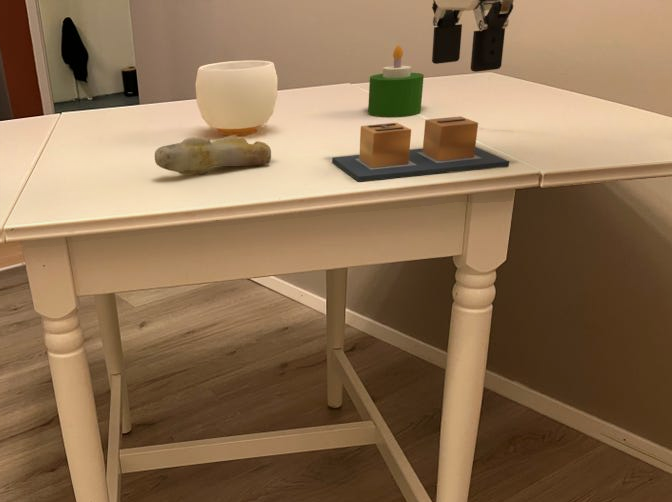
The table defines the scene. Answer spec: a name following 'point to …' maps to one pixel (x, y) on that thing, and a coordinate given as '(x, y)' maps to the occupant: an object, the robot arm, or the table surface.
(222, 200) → the table surface
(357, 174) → the word mat
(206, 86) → the cup
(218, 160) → the figurine
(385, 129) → the tile
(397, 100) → the candle
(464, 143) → the tile
